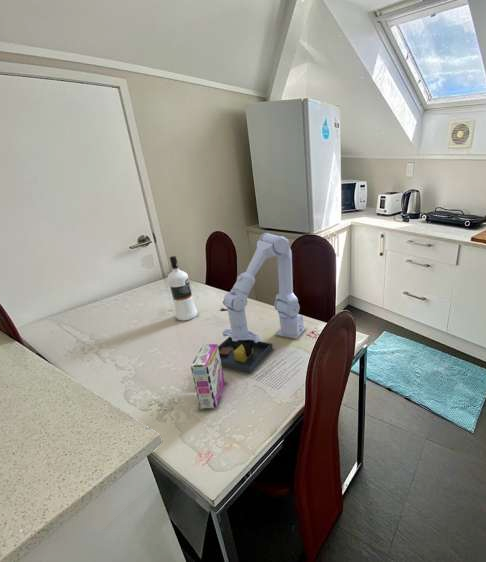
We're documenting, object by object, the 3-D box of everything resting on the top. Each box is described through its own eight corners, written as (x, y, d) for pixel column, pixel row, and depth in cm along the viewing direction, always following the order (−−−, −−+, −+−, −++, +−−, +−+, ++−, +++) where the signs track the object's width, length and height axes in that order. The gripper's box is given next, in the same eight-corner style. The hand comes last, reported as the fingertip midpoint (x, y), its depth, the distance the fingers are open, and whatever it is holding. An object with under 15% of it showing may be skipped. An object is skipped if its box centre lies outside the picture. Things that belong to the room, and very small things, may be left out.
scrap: (232, 350, 122) (232, 347, 121) (227, 356, 118) (227, 354, 118) (222, 349, 122) (222, 347, 122) (217, 356, 119) (217, 353, 118)
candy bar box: (217, 409, 95) (207, 365, 89) (200, 410, 95) (189, 366, 88) (226, 383, 106) (218, 343, 99) (211, 384, 105) (202, 344, 99)
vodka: (184, 310, 153) (170, 252, 141) (201, 312, 151) (188, 253, 139) (172, 320, 145) (155, 259, 132) (190, 322, 143) (175, 260, 131)
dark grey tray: (272, 350, 123) (272, 343, 121) (250, 374, 109) (249, 368, 108) (231, 341, 128) (230, 335, 127) (206, 364, 115) (204, 357, 114)
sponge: (253, 353, 120) (252, 344, 118) (244, 362, 115) (242, 353, 113) (244, 351, 121) (243, 342, 120) (235, 360, 116) (233, 351, 114)
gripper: (214, 325, 111) (221, 356, 116) (249, 332, 107) (254, 364, 112) (227, 316, 117) (232, 346, 122) (260, 322, 113) (265, 353, 118)
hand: (243, 354), depth 118 cm, fingers closed on sponge, 4 cm apart
